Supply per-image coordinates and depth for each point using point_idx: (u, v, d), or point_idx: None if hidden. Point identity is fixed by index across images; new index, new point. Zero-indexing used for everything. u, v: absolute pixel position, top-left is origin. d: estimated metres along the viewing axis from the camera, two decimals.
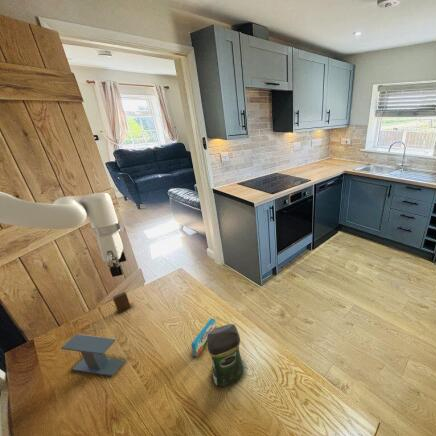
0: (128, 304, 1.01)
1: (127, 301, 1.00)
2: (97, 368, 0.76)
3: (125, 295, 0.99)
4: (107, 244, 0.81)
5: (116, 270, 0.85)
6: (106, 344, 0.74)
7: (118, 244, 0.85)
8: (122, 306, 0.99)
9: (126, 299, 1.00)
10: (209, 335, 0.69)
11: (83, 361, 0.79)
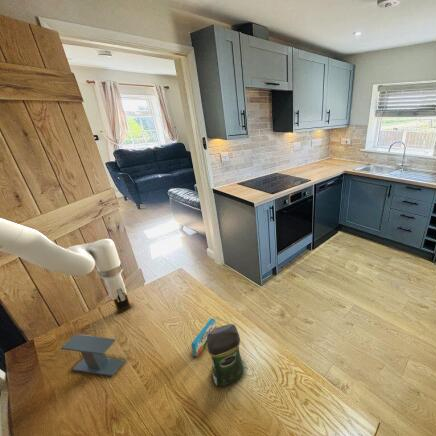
0: (128, 304, 1.01)
1: (127, 301, 1.00)
2: (97, 368, 0.76)
3: (125, 295, 0.99)
4: (117, 283, 0.91)
5: (123, 302, 0.98)
6: (106, 344, 0.74)
7: None
8: None
9: (126, 299, 1.00)
10: (209, 335, 0.69)
11: (83, 361, 0.79)
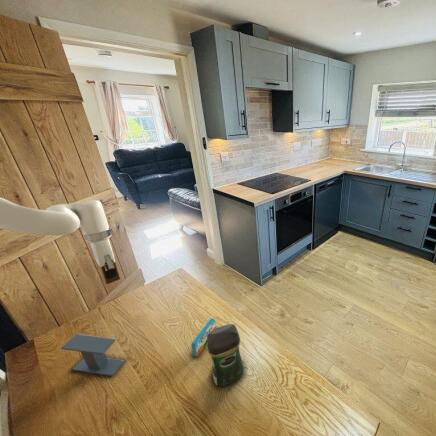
0: (117, 274, 0.94)
1: (116, 271, 0.93)
2: (97, 368, 0.76)
3: (114, 264, 0.92)
4: (104, 248, 0.85)
5: (112, 272, 0.91)
6: (106, 344, 0.74)
7: None
8: None
9: (115, 269, 0.93)
10: (209, 335, 0.69)
11: (83, 361, 0.79)
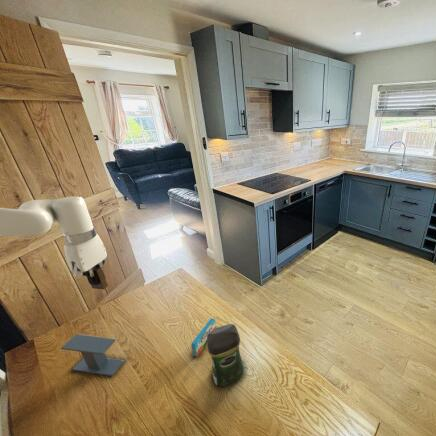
0: (100, 283, 0.82)
1: (99, 280, 0.81)
2: (97, 368, 0.76)
3: (96, 272, 0.80)
4: (70, 254, 0.73)
5: (90, 279, 0.80)
6: (106, 344, 0.74)
7: (87, 255, 0.76)
8: None
9: (98, 277, 0.81)
10: (209, 335, 0.69)
11: (83, 361, 0.79)
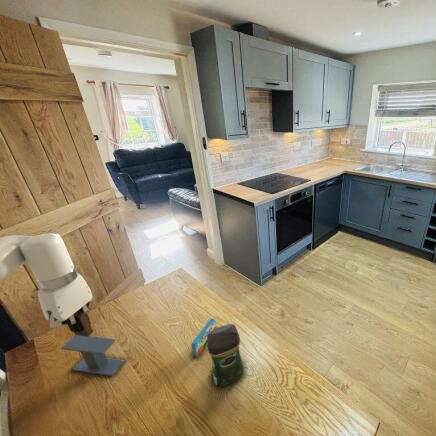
0: (84, 330, 0.70)
1: (82, 326, 0.70)
2: (97, 368, 0.76)
3: (78, 318, 0.68)
4: (45, 302, 0.61)
5: (72, 327, 0.68)
6: (106, 344, 0.74)
7: (67, 301, 0.64)
8: None
9: (81, 324, 0.69)
10: (209, 335, 0.69)
11: (83, 361, 0.79)
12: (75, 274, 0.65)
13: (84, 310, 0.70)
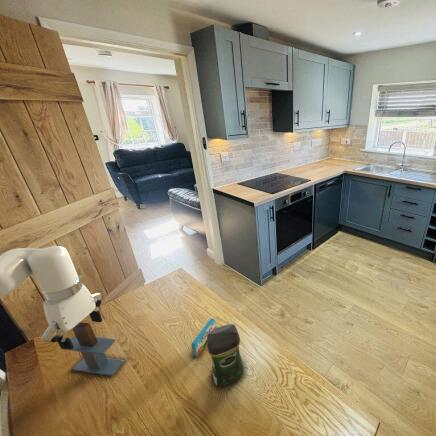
0: (89, 341, 0.72)
1: (87, 337, 0.71)
2: (97, 368, 0.76)
3: (83, 329, 0.70)
4: (51, 313, 0.63)
5: (62, 344, 0.66)
6: (106, 344, 0.74)
7: (71, 312, 0.66)
8: (82, 339, 0.72)
9: (86, 334, 0.71)
10: (209, 335, 0.69)
11: (83, 361, 0.79)
12: (80, 285, 0.67)
13: (96, 308, 0.75)
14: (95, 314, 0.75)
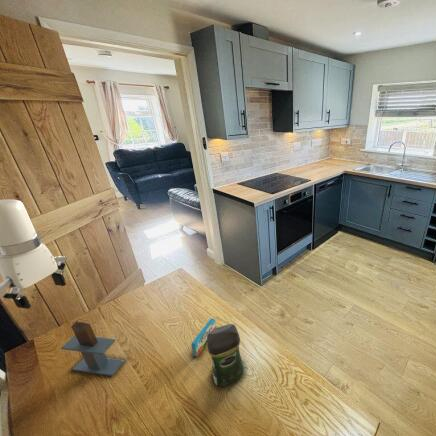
0: (89, 341, 0.72)
1: (87, 337, 0.71)
2: (97, 368, 0.76)
3: (83, 329, 0.70)
4: (4, 268, 0.61)
5: (18, 302, 0.64)
6: (106, 344, 0.74)
7: (28, 269, 0.64)
8: (82, 339, 0.72)
9: (86, 334, 0.71)
10: (209, 335, 0.69)
11: (83, 361, 0.79)
12: (37, 242, 0.65)
13: (59, 270, 0.73)
14: (58, 277, 0.73)
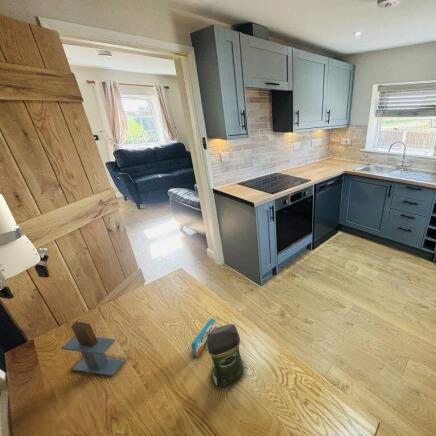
0: (89, 341, 0.72)
1: (87, 337, 0.71)
2: (97, 368, 0.76)
3: (83, 329, 0.70)
4: None
5: (0, 292, 0.65)
6: (106, 344, 0.74)
7: (9, 260, 0.65)
8: (82, 339, 0.72)
9: (86, 334, 0.71)
10: (209, 335, 0.69)
11: (83, 361, 0.79)
12: (18, 234, 0.66)
13: (42, 262, 0.74)
14: (41, 268, 0.75)
